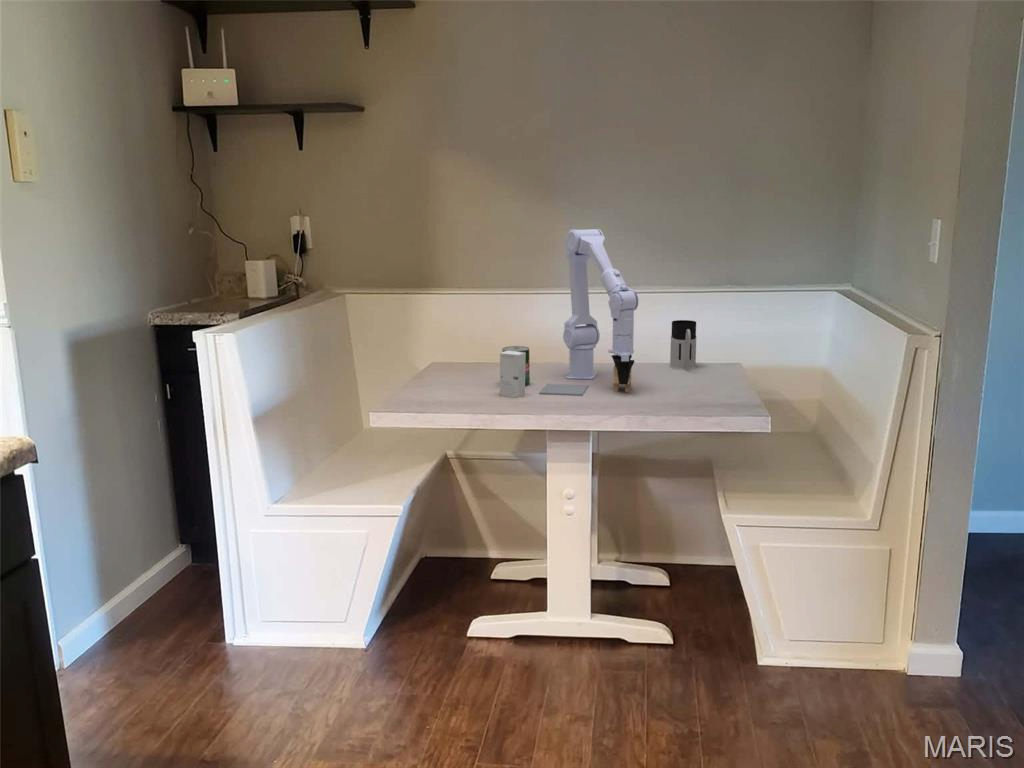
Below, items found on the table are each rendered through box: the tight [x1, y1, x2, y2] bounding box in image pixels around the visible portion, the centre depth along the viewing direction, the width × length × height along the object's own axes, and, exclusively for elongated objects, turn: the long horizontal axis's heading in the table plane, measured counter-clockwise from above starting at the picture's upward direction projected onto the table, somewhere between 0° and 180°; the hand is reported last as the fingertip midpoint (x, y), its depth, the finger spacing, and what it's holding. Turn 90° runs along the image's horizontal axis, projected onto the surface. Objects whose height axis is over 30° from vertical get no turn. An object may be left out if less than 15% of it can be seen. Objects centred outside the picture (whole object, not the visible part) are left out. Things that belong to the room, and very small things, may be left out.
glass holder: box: [669, 319, 697, 371], centre depth 265 cm, size 9×14×15 cm, turn 179°
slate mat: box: [538, 383, 589, 397], centre depth 240 cm, size 12×12×1 cm
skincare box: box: [499, 351, 526, 399], centre depth 234 cm, size 6×4×12 cm
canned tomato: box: [501, 345, 531, 388], centre depth 247 cm, size 8×8×11 cm
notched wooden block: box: [612, 364, 632, 393], centre depth 239 cm, size 4×4×7 cm
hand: (622, 382), depth 239 cm, fingers closed on notched wooden block, 5 cm apart
